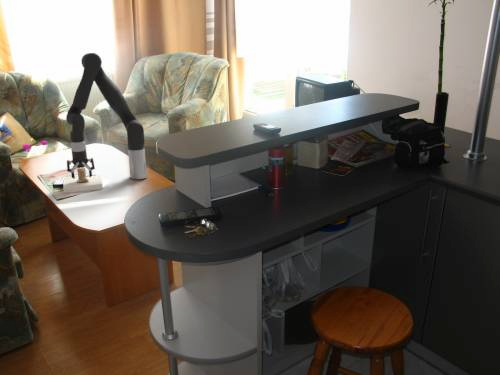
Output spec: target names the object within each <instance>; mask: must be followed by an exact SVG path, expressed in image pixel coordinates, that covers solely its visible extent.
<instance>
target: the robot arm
mask: <svg viewBox="0 0 500 375" xmlns="http://www.w3.org/2000/svg"><path fill="white" fill-rule="evenodd" d="M81 65H82V67H83V72H82V76H81V79H80V81H79V84H78V86H77V88H76V91H75V94H74V98H73V100H72V103H71V106H70V107H69V109H68V111H67V113H66V118H65V120H66V122H67V124H68V125H71V127H72V128H71V131H70V133H69V134H70V150H71V157H72V159H71V160H69V159H67V160H66V170H67V172H68V173H70V174H71V178H73V179H75V178H76V177H75V170H76V169H79V168H85V169H87V170H88V174H89V175H88V176H90V177H91V176H93V172H92V171H94V170H95V169H96V168H95V162H94V158H93V157H91V158H88V155H87V145H86V140H85V134H84V133H85V127H86V126H85V122H86V121H85V118H84V116H83V114H82V112H83V110H85V109H86V108H87V105H88V103H89V102H88V101H89V98H90V94H91V92H92V88H93V85H94V83H95V84H96V86H97V88H98V89H99V91H100V93H101V94H102V96H103V98H104V99H105V101H106V102H107V104H108V105H109V107H110V108H111V109H112V110H113V112H114V113H115V114H116V115H117V116H118V117H119V119H120V120H121V122H122V124H123V126H124V127H125V128H124V129H125V131H126V134H127V136H126V139H127V153H128V165H129V166H128V167H129V176H130V177H129V178H131V179H132V180H142V179H147V178H148V174H147V173H148V172H147V161H146V151H145V131H144V130H145V129H144V127H143V125H142V123H141V122H140V121H139V120H138V118H137V117H136V116H135V114H134V113H133V112H132V110H131V108H130V107H129V104H128V102H127V99H126V98H125V97H124V94H123V93H122V92H121V90H120V89H119V87H118V85H117V84H115V82H114V81H113V80H112V79H111V78H110V77H109V76H108V75H107V74H106V72H105V71H104V69H103V67H102V59H101V57H100V55H99V54H97V53H95V52H90V53H85V54H84V55H83V56H82V58H81ZM88 163H90V164H91V166H90V165H89V164H88ZM71 164H73V166H72V168H70V165H71Z"/></svg>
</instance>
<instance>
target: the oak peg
mask: <svg viewBox="0 0 500 375" xmlns="http://www.w3.org/2000/svg"><path fill="white" fill-rule="evenodd" d="M76 169H77V175H78V176H77V177H78V179H79V183H87V180H86V177H87V175H86V173H87V172H86V167H83V168H82V167H80V168H76Z"/></svg>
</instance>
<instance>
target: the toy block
mask: <svg viewBox="0 0 500 375" xmlns="http://www.w3.org/2000/svg"><path fill="white" fill-rule="evenodd" d="M40 145H42V146H47V145H48V142H47V141H46V140H43V141H41V144H40ZM22 148H23V150H26V151H27V150H31V149H32V147H31V145H30V144H22Z"/></svg>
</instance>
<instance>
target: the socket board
mask: <svg viewBox="0 0 500 375" xmlns="http://www.w3.org/2000/svg"><path fill="white" fill-rule="evenodd" d="M86 180H87V183H79V179H78V176H77V177H75V179H73V178H72V177H69V178H67V177H66V178H63V186H62V189H63V194H67V193H78V192H88V191H95V190H96V191H97V190H98V191H99V190H103V187H104V186H103V182H102V177H101V174H99V175H92V176H91V177H90V176H89V175H88V176H86Z"/></svg>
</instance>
